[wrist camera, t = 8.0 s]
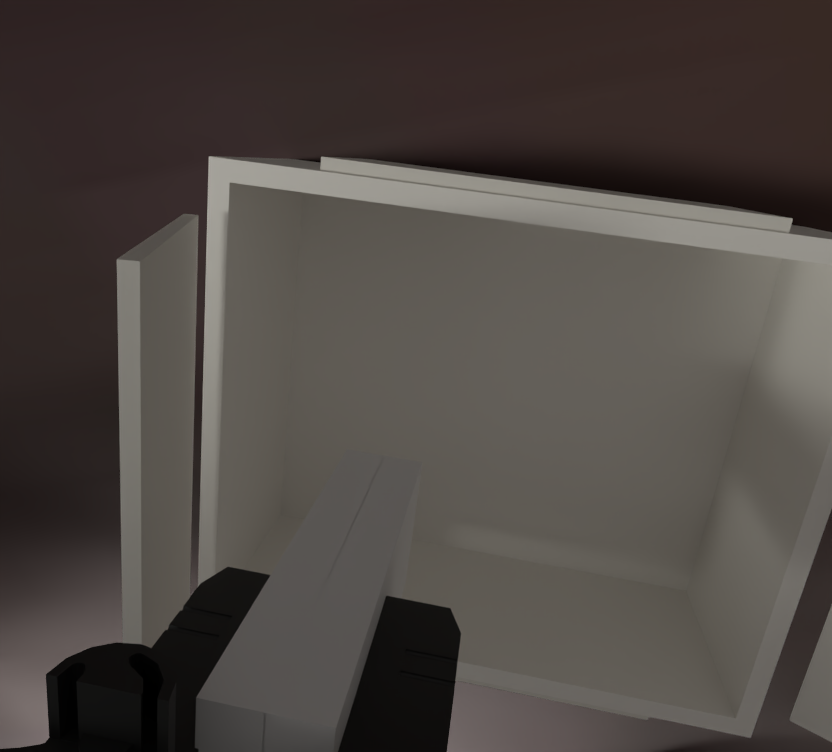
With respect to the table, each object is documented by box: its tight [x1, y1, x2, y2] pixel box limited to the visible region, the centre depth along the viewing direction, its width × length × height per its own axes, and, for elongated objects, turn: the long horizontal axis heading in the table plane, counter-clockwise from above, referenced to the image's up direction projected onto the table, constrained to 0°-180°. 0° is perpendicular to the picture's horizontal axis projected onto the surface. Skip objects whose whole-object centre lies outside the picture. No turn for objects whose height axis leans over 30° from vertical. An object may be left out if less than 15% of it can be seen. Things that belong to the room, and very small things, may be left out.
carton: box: [198, 156, 832, 738], centre depth 19 cm, size 15×13×6 cm
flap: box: [117, 214, 198, 648], centre depth 14 cm, size 6×10×1 cm
